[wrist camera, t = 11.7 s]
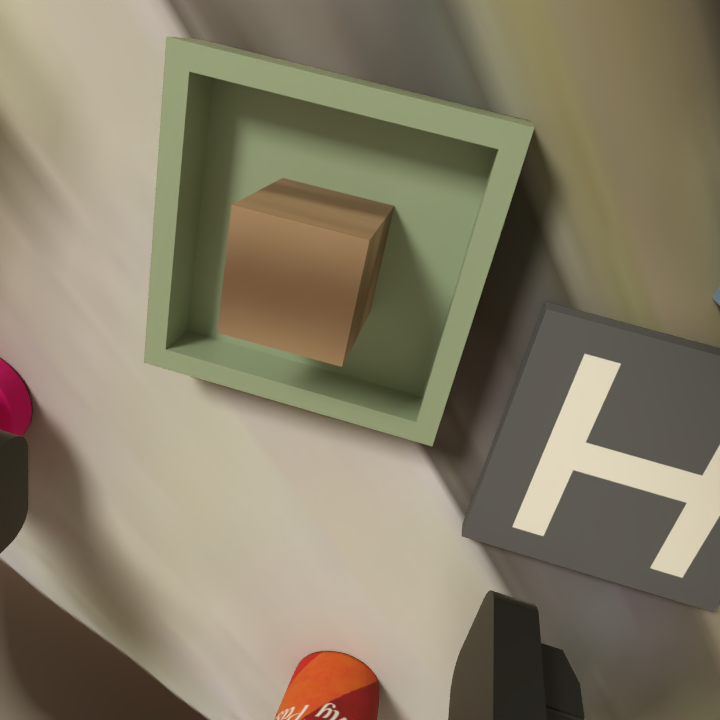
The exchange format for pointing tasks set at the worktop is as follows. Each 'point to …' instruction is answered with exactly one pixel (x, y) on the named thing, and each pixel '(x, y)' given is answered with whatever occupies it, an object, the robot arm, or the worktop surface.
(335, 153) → the tray
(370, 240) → the walnut block
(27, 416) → the pepper mill
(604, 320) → the letter mat
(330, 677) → the paper cup
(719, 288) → the slate cube
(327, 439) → the worktop surface
